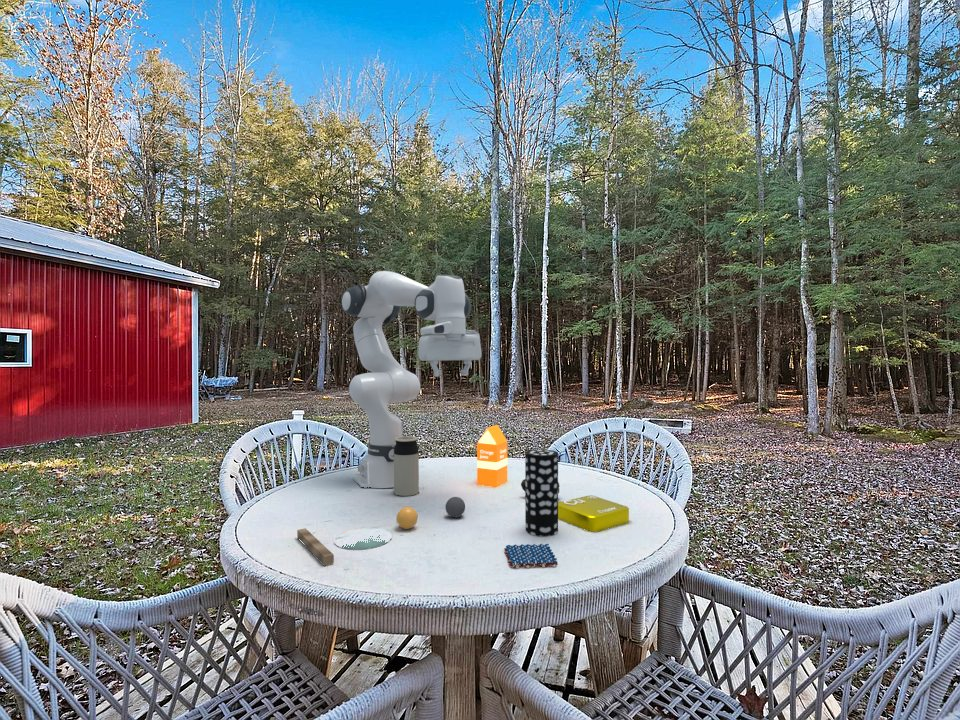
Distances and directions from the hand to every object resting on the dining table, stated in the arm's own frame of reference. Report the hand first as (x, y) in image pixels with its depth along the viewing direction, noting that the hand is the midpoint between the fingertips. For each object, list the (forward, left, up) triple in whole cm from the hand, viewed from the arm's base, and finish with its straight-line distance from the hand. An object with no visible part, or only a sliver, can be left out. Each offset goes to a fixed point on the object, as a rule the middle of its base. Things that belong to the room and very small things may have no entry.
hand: (451, 376), depth 145 cm
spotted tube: (+30, +8, -39) cm, 50 cm away
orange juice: (-14, +26, -39) cm, 49 cm away
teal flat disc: (+8, -31, -39) cm, 50 cm away
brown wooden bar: (+8, -43, -39) cm, 58 cm away
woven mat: (+41, -6, -40) cm, 57 cm away
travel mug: (-21, -4, -39) cm, 45 cm away
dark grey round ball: (+8, -4, -36) cm, 37 cm away
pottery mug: (+8, +27, -39) cm, 49 cm away
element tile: (+32, +25, -40) cm, 56 cm away
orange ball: (+8, -19, -36) cm, 41 cm away
